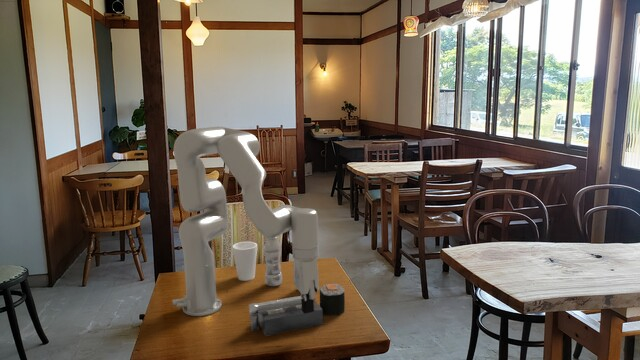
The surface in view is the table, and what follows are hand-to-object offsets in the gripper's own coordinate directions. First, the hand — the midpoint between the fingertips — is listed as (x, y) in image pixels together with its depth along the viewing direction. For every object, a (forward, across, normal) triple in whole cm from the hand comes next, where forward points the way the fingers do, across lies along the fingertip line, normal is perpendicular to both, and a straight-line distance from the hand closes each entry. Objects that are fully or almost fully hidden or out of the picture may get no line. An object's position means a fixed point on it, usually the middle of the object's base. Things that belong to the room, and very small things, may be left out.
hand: (307, 311), depth 136 cm
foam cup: (+7, -49, -8) cm, 50 cm away
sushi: (+7, -12, +12) cm, 18 cm away
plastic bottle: (+7, -38, 0) cm, 39 cm away
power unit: (+7, -8, -5) cm, 12 cm away
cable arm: (+1, -8, -6) cm, 10 cm away
